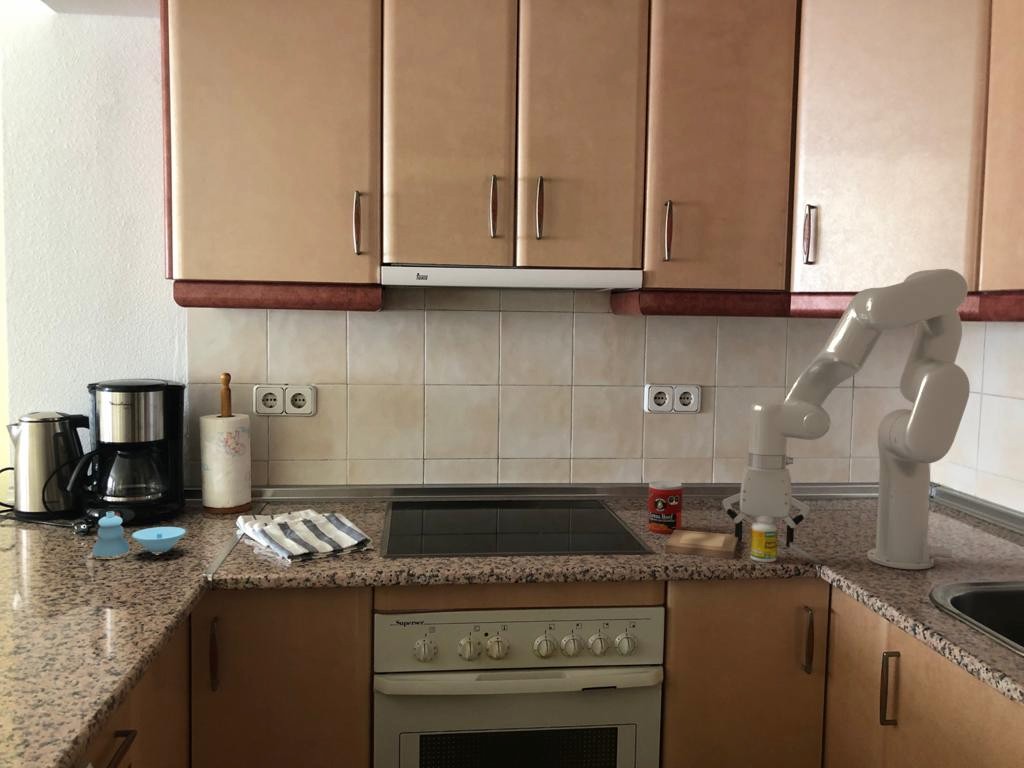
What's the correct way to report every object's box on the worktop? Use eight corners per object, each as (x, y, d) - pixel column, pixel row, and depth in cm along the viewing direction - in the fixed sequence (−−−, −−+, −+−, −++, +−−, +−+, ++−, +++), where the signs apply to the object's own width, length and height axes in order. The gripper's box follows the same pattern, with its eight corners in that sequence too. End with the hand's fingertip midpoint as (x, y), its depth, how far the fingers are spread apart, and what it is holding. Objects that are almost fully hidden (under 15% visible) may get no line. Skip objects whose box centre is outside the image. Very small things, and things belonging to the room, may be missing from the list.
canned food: (643, 531, 203) (644, 484, 202) (654, 524, 210) (655, 479, 209) (675, 535, 199) (676, 488, 198) (685, 528, 206) (686, 482, 205)
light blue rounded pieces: (190, 546, 186) (190, 504, 185) (181, 560, 176) (180, 516, 175) (100, 549, 183) (99, 507, 182) (86, 563, 173) (84, 518, 172)
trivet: (737, 541, 195) (737, 534, 194) (733, 558, 181) (733, 551, 181) (674, 536, 199) (674, 529, 199) (665, 551, 186) (665, 544, 186)
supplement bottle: (761, 554, 185) (763, 509, 184) (782, 560, 181) (784, 514, 180) (744, 557, 182) (746, 512, 181) (764, 564, 178) (766, 517, 177)
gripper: (810, 461, 181) (807, 542, 182) (725, 456, 186) (722, 534, 187) (811, 467, 173) (807, 551, 175) (722, 461, 179) (719, 543, 180)
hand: (763, 543), depth 181 cm, fingers open, 9 cm apart
